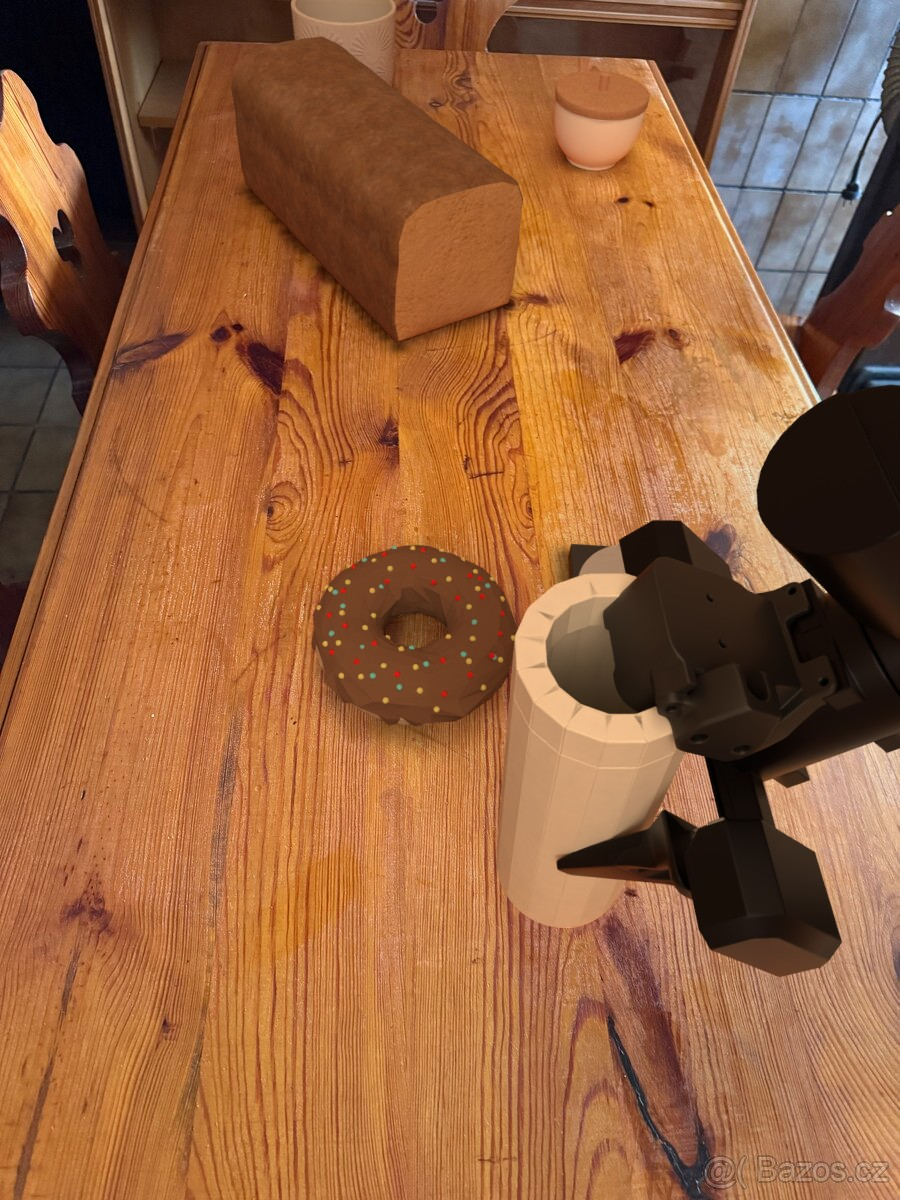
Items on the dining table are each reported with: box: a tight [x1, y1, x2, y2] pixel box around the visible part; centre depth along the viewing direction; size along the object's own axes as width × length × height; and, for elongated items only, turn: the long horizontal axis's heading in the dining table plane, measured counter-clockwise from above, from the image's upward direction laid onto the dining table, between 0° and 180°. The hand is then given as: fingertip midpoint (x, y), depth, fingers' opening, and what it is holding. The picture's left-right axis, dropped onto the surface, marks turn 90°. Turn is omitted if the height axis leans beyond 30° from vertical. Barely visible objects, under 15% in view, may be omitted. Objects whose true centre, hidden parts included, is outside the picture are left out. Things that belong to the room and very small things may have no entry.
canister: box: [496, 573, 688, 929], centre depth 40 cm, size 7×7×22 cm
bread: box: [230, 37, 524, 342], centre depth 87 cm, size 14×34×14 cm, turn 33°
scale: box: [567, 543, 625, 580], centre depth 64 cm, size 9×9×2 cm
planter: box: [290, 0, 397, 88], centre depth 109 cm, size 12×12×11 cm
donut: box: [311, 542, 519, 727], centre depth 59 cm, size 14×14×5 cm
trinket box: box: [553, 70, 651, 172], centre depth 103 cm, size 11×11×9 cm
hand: (552, 789), depth 41 cm, fingers closed on canister, 7 cm apart
